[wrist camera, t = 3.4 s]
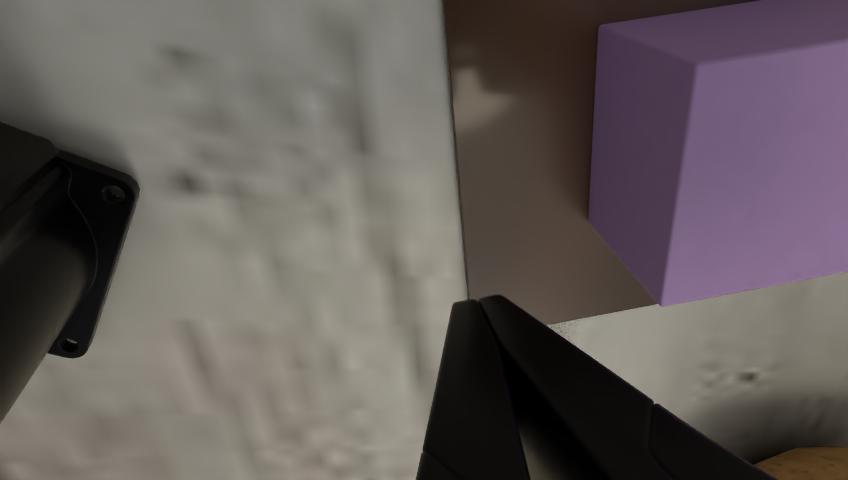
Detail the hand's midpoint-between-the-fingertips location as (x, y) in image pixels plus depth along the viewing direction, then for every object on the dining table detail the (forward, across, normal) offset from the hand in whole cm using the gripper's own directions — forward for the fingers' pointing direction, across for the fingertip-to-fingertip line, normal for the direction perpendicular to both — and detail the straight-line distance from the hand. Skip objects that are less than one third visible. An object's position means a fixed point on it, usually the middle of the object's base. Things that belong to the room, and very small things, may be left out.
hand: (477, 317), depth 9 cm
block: (+7, -8, 0) cm, 11 cm away
